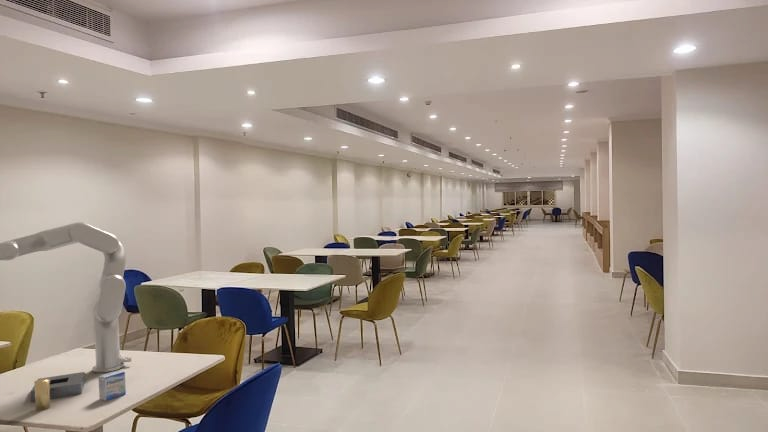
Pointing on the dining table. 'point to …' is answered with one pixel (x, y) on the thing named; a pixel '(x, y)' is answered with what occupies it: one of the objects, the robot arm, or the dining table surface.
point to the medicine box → (112, 385)
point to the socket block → (64, 385)
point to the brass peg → (42, 394)
